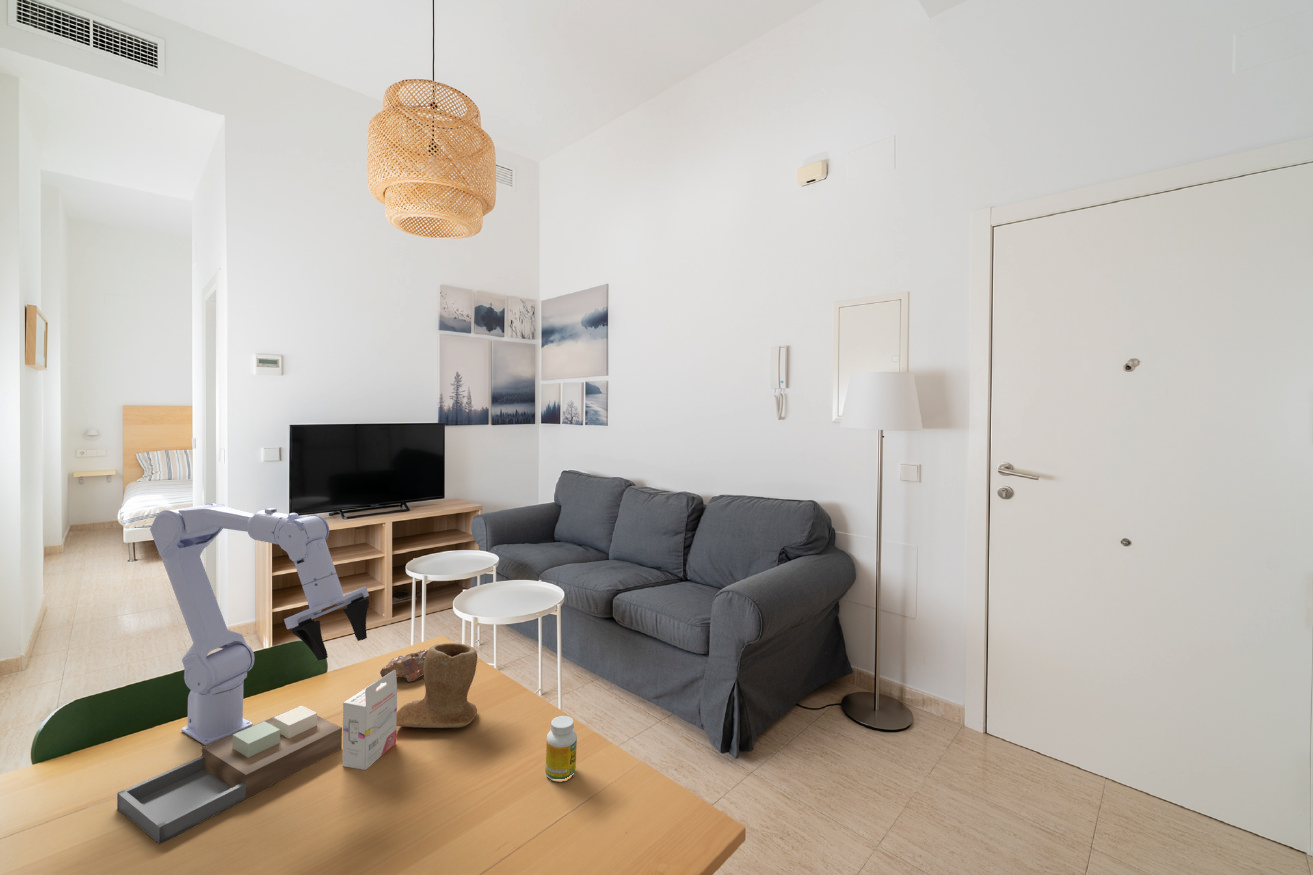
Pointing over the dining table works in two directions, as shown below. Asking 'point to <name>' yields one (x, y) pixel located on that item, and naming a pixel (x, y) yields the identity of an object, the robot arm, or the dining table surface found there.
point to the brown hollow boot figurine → (443, 689)
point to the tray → (177, 800)
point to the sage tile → (256, 739)
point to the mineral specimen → (407, 666)
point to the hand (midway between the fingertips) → (343, 649)
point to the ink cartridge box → (370, 723)
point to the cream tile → (295, 721)
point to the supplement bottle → (561, 748)
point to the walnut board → (271, 757)
